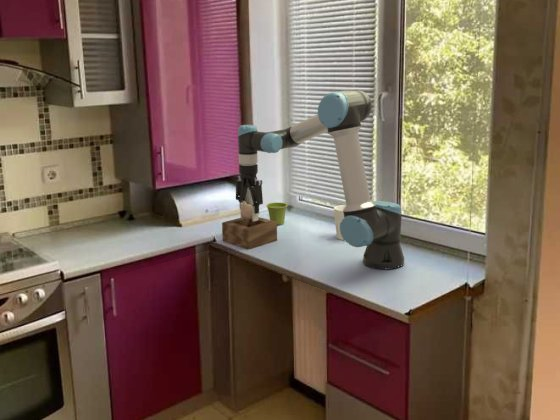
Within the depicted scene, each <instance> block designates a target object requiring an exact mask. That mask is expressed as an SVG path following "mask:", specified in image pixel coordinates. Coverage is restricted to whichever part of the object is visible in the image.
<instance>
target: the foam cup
mask: <svg viewBox="0 0 560 420" xmlns="http://www.w3.org/2000/svg"><path fill="white" fill-rule="evenodd" d="M345 206H346V204H342V205H341V204H340V205H336V206H334V207H333V216H334V223H335V231H336V238H337V240H340V241H345V240H344V239H343V237H342V235H341V233H340V223H341V221H342V220H343V219H344V213H343V209H344V208H345Z"/></svg>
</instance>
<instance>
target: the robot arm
mask: <svg viewBox="0 0 560 420" xmlns="http://www.w3.org/2000/svg"><path fill="white" fill-rule="evenodd" d="M372 109H373V102H372V100H371V98H370V96H369V94H367V93H366V92H365V91H363V90H361V89H350V90H349V89H347V90H338V91H333V92H330V93H327V94H326V95H325V94H324V96H323V97H322V98H321V100H320V101H319V103H318V107H317V114H316V115H313V116H311V117H308V118H307V119H305V120H301V121H299V122H298V123H296V124H294V125H291V126H289V127H287V128H284V129H279V130H274V131H272V130H271V131H264V132H263V131H259V130H258V128H257V125H254V124H243V125H239V126H238V128H237V129H238V131H237V144H238V163H239V164H238V172H239V174H240V175H238V176H235V177H234V179H235V200H236V201H238V203H239V210H240V213H241V206H242V205H244V204H243V201H244V202H245V203H246V204H247V200H246V196H247V193H248V190H249V192H250V197H251V200H252V204H251V205H252V221H253V222H254V221H257V220H258V217H259V214H260V205H264V200H263V199H264V198H263V188H262V187H263V186H262V184H263V180H259V179H258V177H257V174H258V172H259V171H258V152H264V153H267V154H275V153H279V151H280V150H283V149H289V148H291V149H292V148H295V147H298V146H300V145H301V144H302V143H303V142H306V141H309V140H311V139H313V138H315V137H318V136H320V135H322V134H325V133H327V134H328V135H329V136H331V137H332V138H333V141H334V147H335V154H336V158H337V163H338V168H339V169H338V170H339V173H340V178H341V184H342V189H343V194H344V199H345V205H346V206H345V208H344V209H343V213H344V219H343V220H342V221H341V223H340V233H341V235H342V237H343V239H344V240H343V241H345V243H347V244H348V245H349V246H350V247H351V246H352V247H354V248H362V247H365V251H364V253H363V257H362V263H363V264H364V265H365V266H366V267H369V268H372V267H373V268H372V269H377V268H380V269H379V270H386V269H385V268H395V267H398V266H401V265H403V264H404V265H405V256H404V252H403V248H402V246H401V233H402V216H403V214H402V207H401V205H400V204H398V203H396V202H391V201H384V200H382V201H381V200H374V201H372V200H371V196H370V190H369V189H370V188H369V185H368V181H367V179H368V178H367V173H366V169H365V163H364V159H363V152H362V149H361V148H362V147H361V143H360V137H359V131H360V130H361V129H362V124H361V122H363V121H365V120H367V118H368V117H370V115H371V113H372ZM240 218H243V217H242V216H241V215H240ZM404 265H403V266H404ZM381 268H382V269H381ZM395 269H396V268H395Z"/></svg>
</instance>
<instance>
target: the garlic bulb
mask: <svg viewBox="0 0 560 420" xmlns="http://www.w3.org/2000/svg"><path fill="white" fill-rule="evenodd" d="M245 202H246V201H243V204H244V205H242V206H241V212H240V217H241V216H242V217H243V218H244V219H246V220H252V205H253V204H249V203H247V202H246V203H245Z"/></svg>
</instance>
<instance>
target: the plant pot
mask: <svg viewBox="0 0 560 420" xmlns="http://www.w3.org/2000/svg"><path fill="white" fill-rule="evenodd" d="M287 207H288V203H285V202H269V203H267V204H266V208H267V211H268V217H269V220H271V221H275V222H277V226H278V225H280V226H281V225H284V224H285V218H286V217H285V215H286V210H287Z"/></svg>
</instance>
